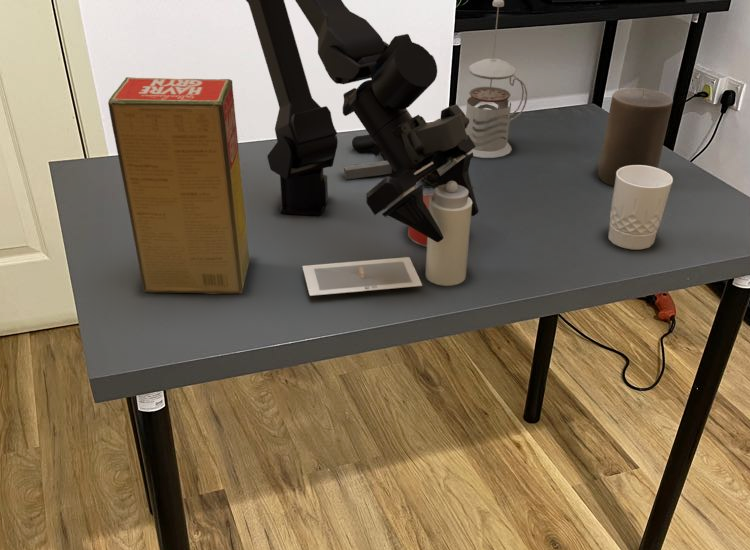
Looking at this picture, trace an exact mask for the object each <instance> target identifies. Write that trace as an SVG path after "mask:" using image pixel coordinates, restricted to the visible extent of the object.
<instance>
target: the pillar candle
mask: <svg viewBox="0 0 750 550" xmlns="http://www.w3.org/2000/svg"><path fill="white" fill-rule="evenodd" d="M673 103H674V99H673V97H672V96H671V95H670V94H668V93H665V92H663V91H661V90H655V89H652V88H651V89H650V88H644V87H620V88H619V89H616V90H615V91H613V92H612V95H611V100H610V107H609V112H608V116H607V122H606V127H605V133H604V138H603V142H602V147H601V153H600V158H599V163H598V168H597V176H598V177H599V179H600V180H601V181H602V182H604V183H605V184H606V185H609V186H612V187H614V185H615V179H616V172H617V170H618V169H620V168H622V167H625V166H630V165H645V166H651V167H655V168H659V166H660V161H661V156H662V152H663V147H664V142H665V139H666V134H667V130H668V126H669V121H670V116H671V113H672V112H671V111H672V108H673Z"/></svg>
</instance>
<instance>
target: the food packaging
mask: <svg viewBox="0 0 750 550" xmlns="http://www.w3.org/2000/svg"><path fill="white" fill-rule="evenodd" d="M107 105H108V110H109V117H110V120H111V127H112V131H113V136H114V137H113V138H114V143H115V147H116V152H117V157H118V158H117V159H118V162H119V167H120V173H121V179H122V183H123V188H124V189H123V190H124V194H125V198H126V203H127V208H128V213H129V219H130V224H131V225H130V226H131V229H132V235H133V241H134V246H135V252H136V257H137V262H138V268H139V273H140V279H141V283H142V289H143V292H144V293H169V294H170V293H171V294H172V293H173V294H174V293H176V294H177V293H178V294H212V295H214V294H215V295H216V294H239V295H240V294H242V293H243V292H244V287H245V284H246V283H245V282H246V277H247V273H248V270H249V265H250V262H251V261H250V254H249V243H248V232H247V220H246V218H247V217H246V209H245V201H244V192H243V184H242V172H241V163H240V162H241V160H240V150H239V138H238V130H237V119H236V108H235V97H234V88H233V80H232V79H230V78H219V79H215V78H213V79H211V78H210V79H209V78H208V79H206V78H165V77H164V78H162V77H159V78H157V77H125V78H124V79H123V81H122V82H121V84H120V85H119V86H118V87H117V89H116V90H115V91H114V92H113V93H112V95H111V96H110V98H108V102H107Z"/></svg>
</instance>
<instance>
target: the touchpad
mask: <svg viewBox="0 0 750 550" xmlns="http://www.w3.org/2000/svg"><path fill="white" fill-rule="evenodd" d="M301 267H302V271H303V275H304V279H305V282H306V283H305V284H306V287H307V290H308V294H309V297H312V296H323V295H333V294H334V295H335V294H336V295H337V294H346V293H358V292H367V291H379V290H380V291H381V290H390V289H400V288H401V289H402V288H412V287H422V286H423V282H422V281H421V279H420V277H419V275H418V273H417V270H416V268H415V266H414V264H413V261H412V260H411V258H410V256H407V257H406V256H405V257H394V258H381V259H369V260H358V261H357V260H356V261H345V262H344V261H343V262H333V263H320V264H309V265H302V266H301Z"/></svg>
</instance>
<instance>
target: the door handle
mask: <svg viewBox="0 0 750 550" xmlns="http://www.w3.org/2000/svg"><path fill="white" fill-rule="evenodd" d="M351 146H352V149H354V151H356V152H365V151H366V152H367V151H372V150H371V149H372V148H374V147H375V146H376V144H375V142H374V141H373V139H372V138H371V136H370V135H369V134H364V135H356V136H355V137H353V138H352V140H351ZM379 155H380V156H381V158H382V160H381V161H373V162H366V163H359V164H352V165H351V164H350V165H344V166H343V174H344V178H345V179H346V180H354V179H355V180H356V179H362V178H369V177H377V176H383V175H390V174H392V173H393V172H394V170H393V169H392V167H391V166H390V164H389V163H388V161H387V160H386V158H385V157H384V155H383V154H382V153H380V154H379ZM424 166H426V165H424ZM413 172H416V171H415V170H414V171H413ZM438 177H440V175H439V174H438V175H437V176H436V175H434V174H432V173H431V174H429V175H428V176H426V177H424V178H423V179H422V180H424V181H425V182H426V183H427V184H429V185H436V184H437V183H436V182H435V180H436V179H437V178H438ZM437 185H438V184H437Z"/></svg>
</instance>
